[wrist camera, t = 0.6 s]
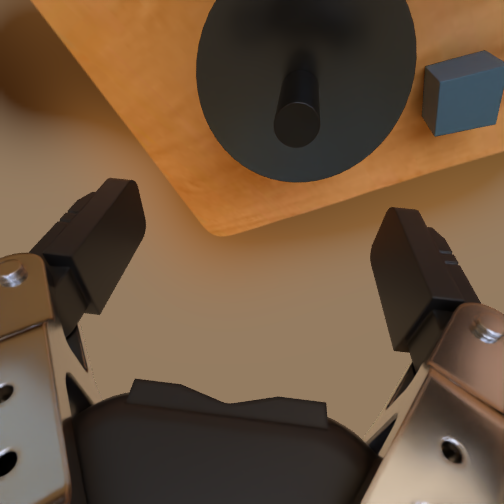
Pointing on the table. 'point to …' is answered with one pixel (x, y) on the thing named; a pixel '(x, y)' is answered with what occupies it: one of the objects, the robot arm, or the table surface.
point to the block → (462, 93)
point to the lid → (304, 81)
